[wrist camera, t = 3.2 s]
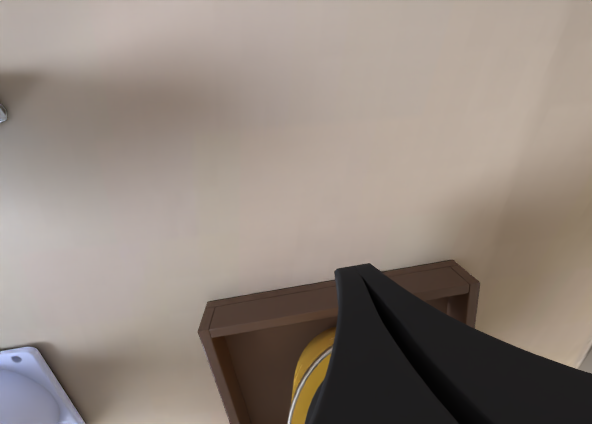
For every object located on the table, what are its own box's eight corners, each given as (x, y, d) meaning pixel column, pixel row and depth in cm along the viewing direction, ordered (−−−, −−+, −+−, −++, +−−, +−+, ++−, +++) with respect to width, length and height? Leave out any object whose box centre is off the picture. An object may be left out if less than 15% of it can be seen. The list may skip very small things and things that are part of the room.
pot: (282, 375, 19) (299, 645, 11) (253, 261, 14) (240, 602, 5) (398, 355, 20) (510, 600, 11) (411, 236, 14) (646, 518, 6)
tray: (251, 439, 21) (248, 477, 19) (207, 301, 17) (197, 331, 14) (442, 403, 22) (462, 437, 20) (453, 259, 17) (480, 282, 15)
